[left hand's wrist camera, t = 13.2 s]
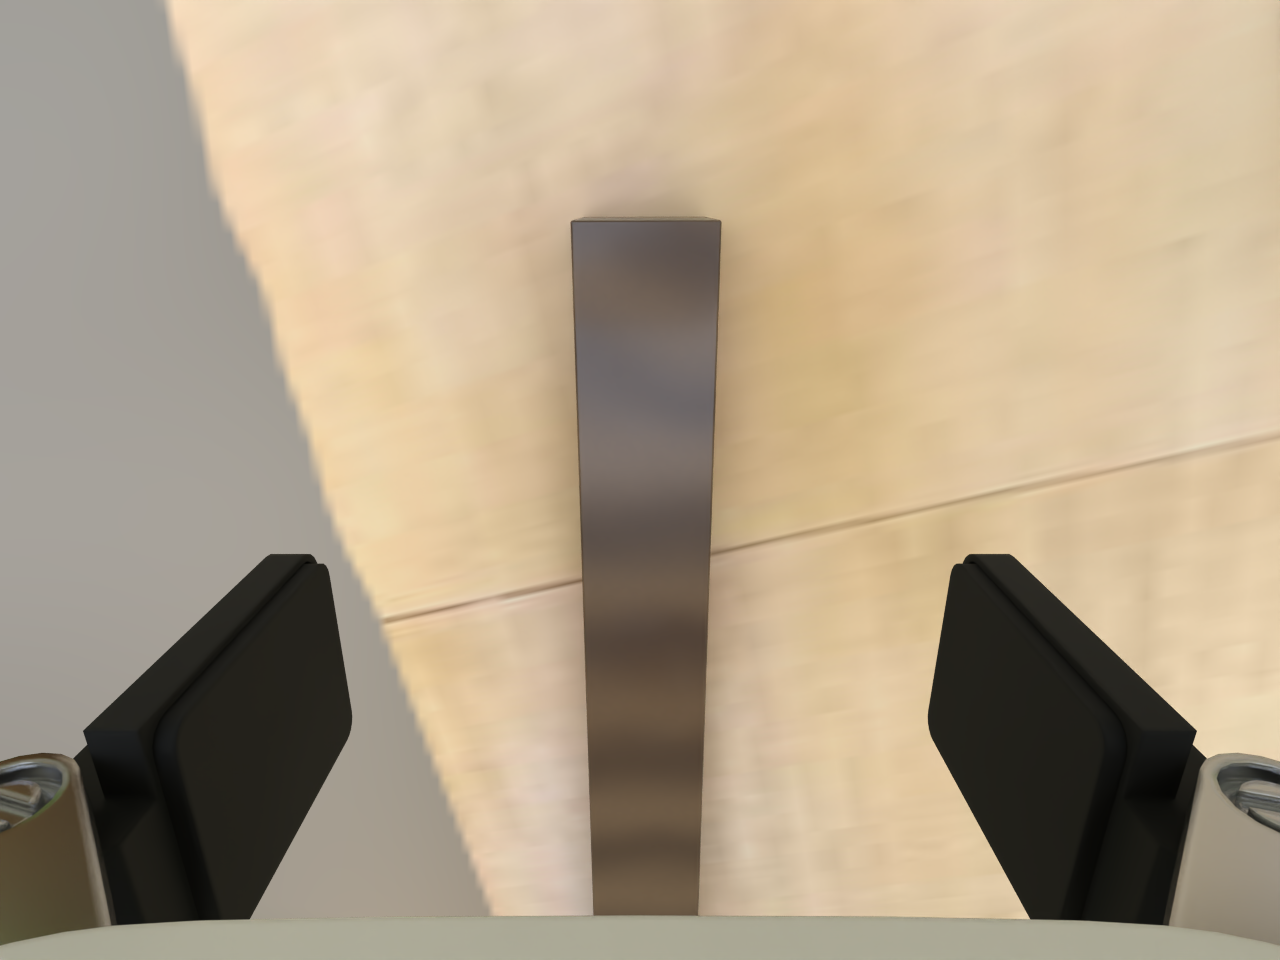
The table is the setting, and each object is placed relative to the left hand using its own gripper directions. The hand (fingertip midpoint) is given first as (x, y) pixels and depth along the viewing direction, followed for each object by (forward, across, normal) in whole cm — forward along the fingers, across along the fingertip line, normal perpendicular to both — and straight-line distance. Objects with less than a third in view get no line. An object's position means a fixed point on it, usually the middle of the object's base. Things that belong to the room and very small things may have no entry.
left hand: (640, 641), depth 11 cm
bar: (+27, 0, -20) cm, 34 cm away
